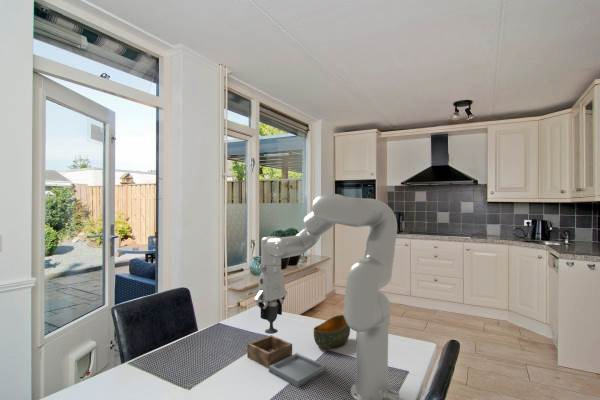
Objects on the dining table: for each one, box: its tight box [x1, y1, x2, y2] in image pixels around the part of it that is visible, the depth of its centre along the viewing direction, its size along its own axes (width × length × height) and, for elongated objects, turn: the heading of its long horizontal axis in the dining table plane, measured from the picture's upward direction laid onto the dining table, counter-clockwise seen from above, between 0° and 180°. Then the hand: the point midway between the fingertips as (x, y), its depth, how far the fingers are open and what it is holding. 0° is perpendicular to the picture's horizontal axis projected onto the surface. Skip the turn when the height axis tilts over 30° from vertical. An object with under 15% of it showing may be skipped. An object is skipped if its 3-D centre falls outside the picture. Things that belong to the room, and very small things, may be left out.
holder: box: [246, 334, 293, 369], centre depth 124 cm, size 12×12×5 cm
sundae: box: [264, 300, 280, 335], centre depth 124 cm, size 7×7×15 cm
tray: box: [268, 352, 327, 388], centre depth 113 cm, size 14×14×2 cm
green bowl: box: [313, 314, 351, 351], centre depth 137 cm, size 13×20×10 cm, turn 104°
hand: (271, 316), depth 124 cm, fingers closed on sundae, 6 cm apart
